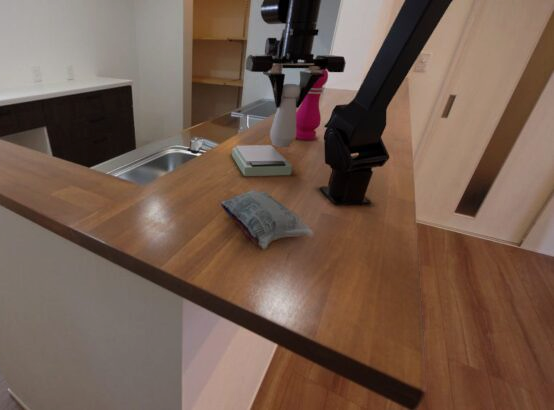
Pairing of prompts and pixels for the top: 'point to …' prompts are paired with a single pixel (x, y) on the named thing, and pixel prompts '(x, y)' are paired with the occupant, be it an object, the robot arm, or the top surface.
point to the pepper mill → (310, 111)
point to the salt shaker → (285, 117)
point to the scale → (260, 161)
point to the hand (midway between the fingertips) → (287, 107)
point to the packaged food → (264, 218)
